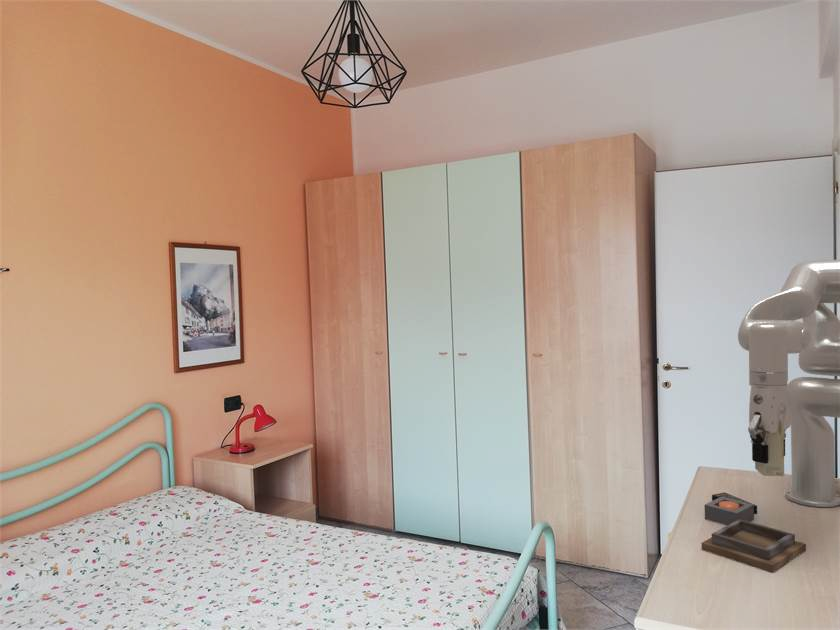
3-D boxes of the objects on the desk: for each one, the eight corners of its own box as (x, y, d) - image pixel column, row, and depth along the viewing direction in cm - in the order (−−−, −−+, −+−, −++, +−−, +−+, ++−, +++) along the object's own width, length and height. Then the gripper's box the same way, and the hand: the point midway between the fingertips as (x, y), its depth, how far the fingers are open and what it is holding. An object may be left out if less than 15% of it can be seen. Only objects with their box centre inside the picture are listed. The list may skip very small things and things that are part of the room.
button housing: (721, 510, 163) (721, 496, 163) (754, 518, 156) (753, 504, 156) (704, 518, 158) (704, 504, 158) (737, 527, 152) (737, 513, 151)
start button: (725, 509, 160) (724, 499, 160) (742, 514, 157) (742, 504, 157) (715, 514, 158) (715, 504, 157) (733, 519, 154) (733, 508, 154)
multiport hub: (743, 517, 158) (743, 508, 158) (711, 503, 169) (711, 494, 169) (758, 514, 160) (758, 505, 159) (725, 500, 170) (724, 492, 170)
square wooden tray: (736, 530, 150) (735, 515, 150) (805, 550, 138) (805, 534, 138) (701, 549, 141) (701, 533, 141) (772, 572, 129) (772, 555, 129)
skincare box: (785, 477, 140) (784, 421, 139) (763, 476, 141) (762, 420, 140) (774, 468, 146) (774, 415, 146) (754, 468, 147) (753, 414, 146)
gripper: (767, 385, 134) (767, 470, 135) (803, 376, 145) (804, 454, 145) (731, 381, 140) (732, 462, 141) (769, 373, 151) (769, 448, 151)
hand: (768, 458), depth 143 cm, fingers closed on skincare box, 7 cm apart
